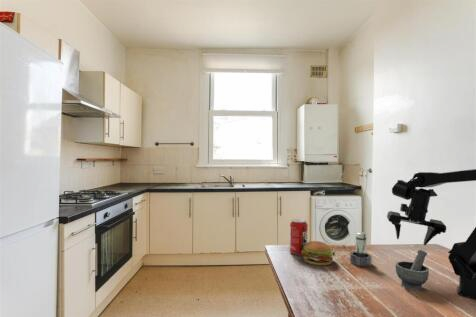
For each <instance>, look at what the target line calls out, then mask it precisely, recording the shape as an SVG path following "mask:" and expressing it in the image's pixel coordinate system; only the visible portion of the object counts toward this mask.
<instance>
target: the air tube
mask: <svg viewBox="0 0 476 317" xmlns="http://www.w3.org/2000/svg"><path fill="white" fill-rule="evenodd" d="M367 240H368V239H367V232H363V231H356V232H355V251H356V256H358V257H366V253H367Z"/></svg>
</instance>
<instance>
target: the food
mask: <svg viewBox="0 0 476 317" xmlns="http://www.w3.org/2000/svg"><path fill="white" fill-rule="evenodd" d="M301 254H302V255H301V257H302V260H303V261H304V262H306V263H308V264H310V265H313V266H321V267H322V266H328V265H331V264H332V262H333V260H334V258H333V257H335V256H336V252H335V251H334V248H333V247H331V246H330V245H329V244H328V243H325V242H324V241H323V242H322V241H320V240H313V241H309V242H308V241H307V243H306V244H305V246H303V250H302V251H301Z"/></svg>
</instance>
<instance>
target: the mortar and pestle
mask: <svg viewBox="0 0 476 317" xmlns="http://www.w3.org/2000/svg"><path fill="white" fill-rule="evenodd" d="M427 255H428V252H426V251H424V250H422V249H418V250H417V255H416V256H415V259H414V261H405V260H401V261H396V263H395V273H396V275H397V277H398V278H399V279H400V280H401V283H400V285H401V287H403V288H405V289H408V290H410V291H415V292H418V291H423V285H424V284H426V283H427V281H428V280H429V272H430V271H429V270H430V269H429V267H427V266H425V265H424V263H425V262H424V261H425V259H426V257H427Z"/></svg>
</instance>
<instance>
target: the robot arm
mask: <svg viewBox="0 0 476 317" xmlns="http://www.w3.org/2000/svg"><path fill="white" fill-rule="evenodd" d="M473 181H474V182H475V181H476V168H473V169H465V170H464V169H463V170H455V171H447V172H435V171H434V172H431V171H426V172H425V171H423V172H422V171H418V172H416V173H414V175H413V176H412V178H411V179H409V181H405V180H403V179H398V180H397V182H396V183H395V184H394V185H393V187H392V188H391V193H392V195H393V196H395V197H398V198H401V199H403V200H406V201H410V202H409V204H406V203H401V204H400V208H399V211H400V212H402V213H404V215H405V216H404V215H401V213H400V212H397V211H392V210H391V211H390V210H389V211H388V212H387V215H386V218H387V220H388V222H390V223H391V225H393V226H394V229H395V235H396V239H397V240H399V239H400V235H401V234H400V233H401V227H402V224H401V222H406V223H410V224H414V225H420V226H425V227H427V230H426V233H425V236H424V238H423V246H427V244H428V243H429V242H430V241H431V240H432V239H433V238H434V237H436V236H437V235H440V234H441V233H446V231H447V226H446V224H445V223H444V222H443V221H442V220H439V219H433V218H430V219H429V221H428V220H426V217H427V213H428V211H429V209H428V208H429V204H430V199H431V197H438V194H437V193H436V192H435V190H434V189H433V188H434V187H438V186H441V185H444V184H448V183H449V184H451V183H462V182H464V183H465V182H473ZM426 188H430V189H426ZM447 253H448V260H449V263H450V264H451V267H452V268H453V270H452V271H453V272H454V275H457V276H458V277H459V278H458V279H459V280H458V281H459V282H458V283H459V284H458V286H457V290H456V291H457V295H460V296H464V297H467V298H471V299H475V300H476V226H475V227H474V228H473V230H472V232H471V233H470V234H469V236H468V237H467V238H466V240H465V241H461V242H455V243H453V245H452V247H451V249H450V250H449V251H448V252H447Z"/></svg>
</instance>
